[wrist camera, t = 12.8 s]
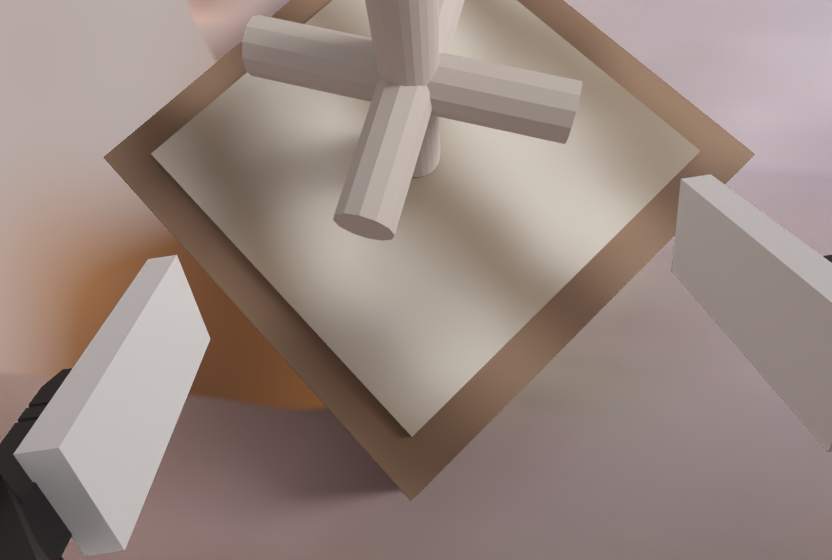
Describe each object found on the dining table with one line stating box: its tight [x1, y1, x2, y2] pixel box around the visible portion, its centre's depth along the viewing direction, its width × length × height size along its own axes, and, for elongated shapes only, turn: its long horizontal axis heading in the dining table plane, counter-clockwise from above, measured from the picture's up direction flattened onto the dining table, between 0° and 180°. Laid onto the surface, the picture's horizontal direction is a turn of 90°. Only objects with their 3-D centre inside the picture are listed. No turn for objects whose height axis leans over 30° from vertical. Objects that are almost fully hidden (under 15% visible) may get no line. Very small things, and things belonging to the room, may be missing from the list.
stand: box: [104, 0, 755, 501], centre depth 25 cm, size 18×18×4 cm
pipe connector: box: [242, 0, 582, 241], centre depth 18 cm, size 10×10×10 cm
